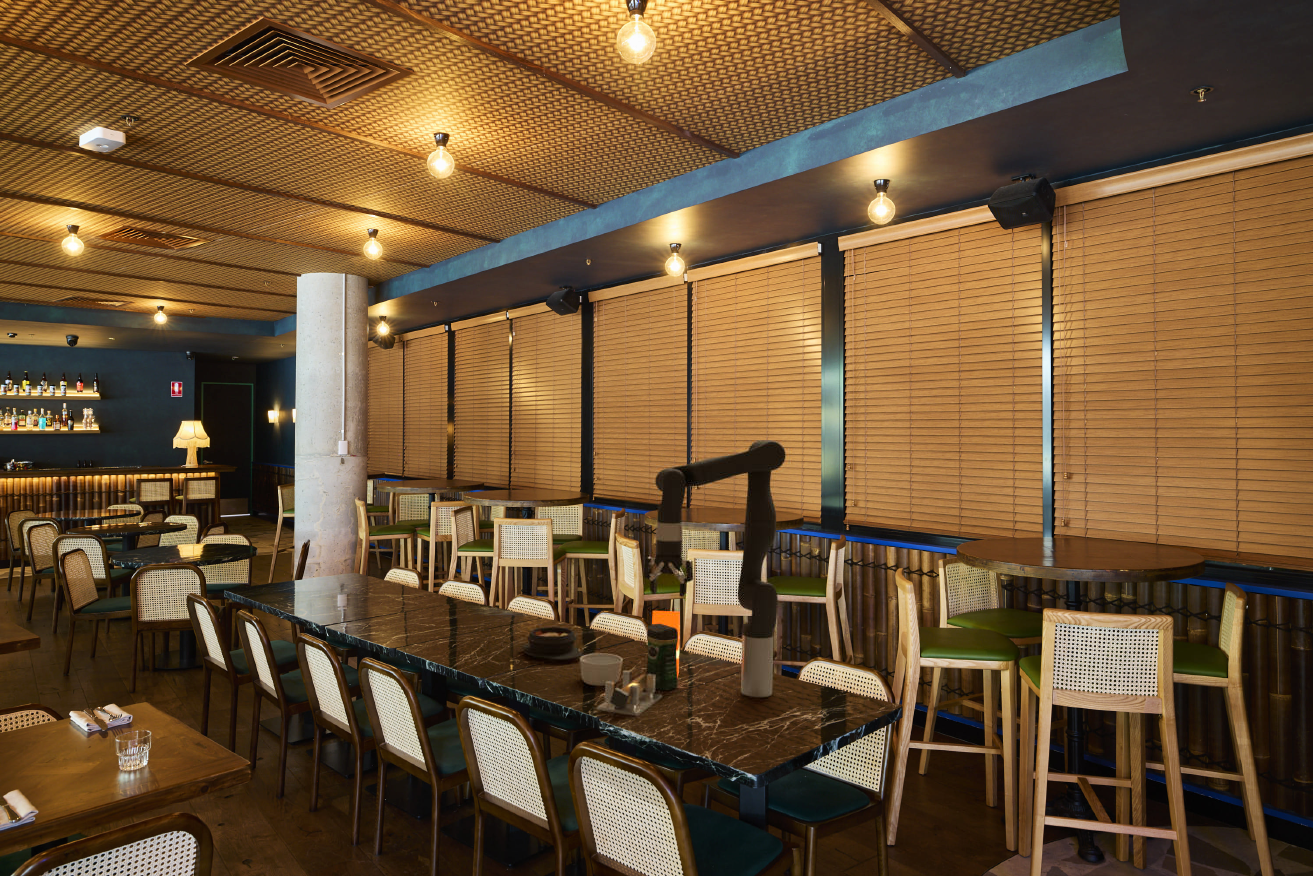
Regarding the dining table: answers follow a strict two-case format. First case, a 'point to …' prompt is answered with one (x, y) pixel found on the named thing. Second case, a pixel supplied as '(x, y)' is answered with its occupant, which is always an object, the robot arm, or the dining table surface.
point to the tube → (628, 691)
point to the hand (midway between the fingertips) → (668, 594)
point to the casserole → (552, 644)
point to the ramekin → (600, 668)
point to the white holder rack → (631, 696)
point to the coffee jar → (662, 655)
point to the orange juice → (669, 620)
